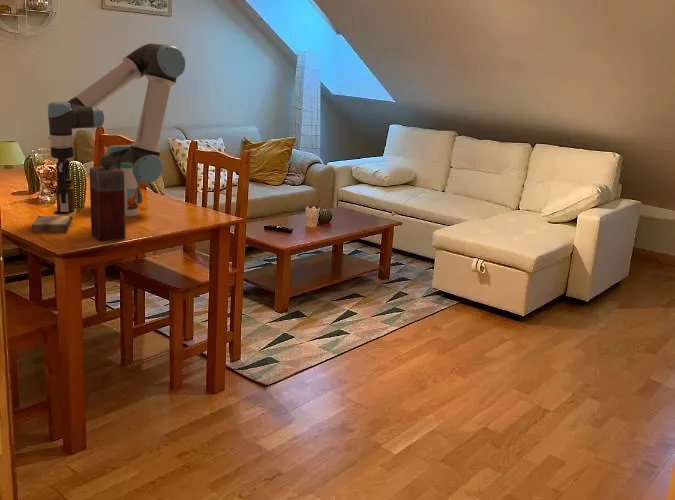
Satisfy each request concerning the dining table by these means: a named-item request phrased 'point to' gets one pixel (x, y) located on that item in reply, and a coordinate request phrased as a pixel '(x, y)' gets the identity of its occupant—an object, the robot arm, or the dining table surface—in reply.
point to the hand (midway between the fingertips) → (65, 208)
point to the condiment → (70, 199)
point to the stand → (51, 224)
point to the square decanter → (107, 201)
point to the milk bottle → (130, 189)
